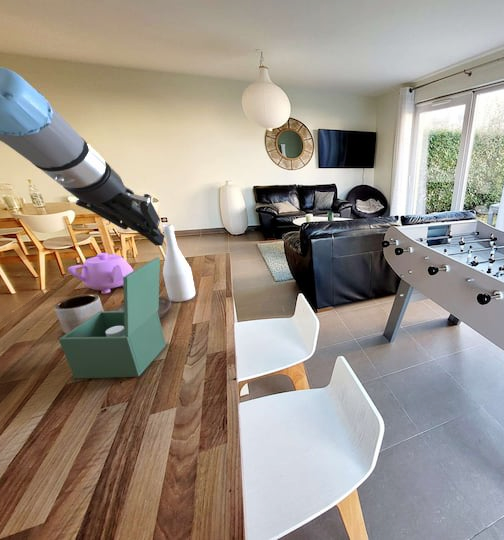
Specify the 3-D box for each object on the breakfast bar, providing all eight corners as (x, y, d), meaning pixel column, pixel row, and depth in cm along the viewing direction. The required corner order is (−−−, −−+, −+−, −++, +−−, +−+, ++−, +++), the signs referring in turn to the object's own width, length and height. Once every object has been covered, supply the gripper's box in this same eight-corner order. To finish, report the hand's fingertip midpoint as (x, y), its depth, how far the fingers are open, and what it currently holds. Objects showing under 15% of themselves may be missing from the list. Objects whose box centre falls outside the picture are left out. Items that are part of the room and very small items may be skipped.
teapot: (90, 304, 109) (78, 268, 103) (69, 291, 118) (56, 257, 112) (147, 286, 125) (139, 254, 119) (125, 276, 134) (116, 245, 128)
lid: (123, 276, 66) (127, 277, 66) (156, 257, 78) (159, 257, 78) (124, 336, 71) (128, 336, 71) (155, 309, 84) (158, 309, 84)
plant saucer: (144, 332, 94) (142, 324, 93) (98, 325, 97) (95, 317, 96) (183, 306, 111) (182, 299, 109) (143, 301, 113) (141, 294, 112)
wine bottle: (184, 304, 112) (168, 229, 101) (163, 301, 114) (145, 227, 102) (201, 293, 121) (188, 223, 110) (181, 291, 122) (166, 221, 111)
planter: (54, 332, 92) (43, 306, 88) (91, 315, 102) (83, 291, 98) (80, 338, 90) (70, 312, 86) (115, 320, 100) (107, 296, 96)
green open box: (74, 378, 74) (58, 339, 70) (111, 346, 87) (99, 311, 82) (138, 376, 76) (126, 338, 71) (166, 345, 89) (157, 310, 84)
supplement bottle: (118, 367, 78) (108, 337, 74) (107, 360, 80) (97, 331, 76) (139, 355, 82) (131, 327, 79) (129, 350, 84) (120, 322, 81)
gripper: (31, 189, 46) (127, 254, 68) (118, 192, 47) (185, 254, 69) (49, 154, 49) (135, 226, 70) (131, 157, 50) (191, 227, 72)
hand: (160, 240), depth 70 cm, fingers closed
